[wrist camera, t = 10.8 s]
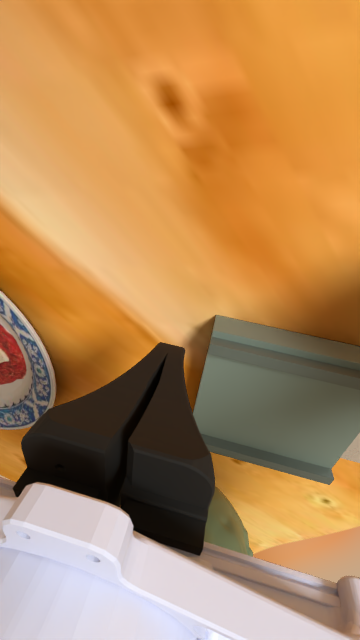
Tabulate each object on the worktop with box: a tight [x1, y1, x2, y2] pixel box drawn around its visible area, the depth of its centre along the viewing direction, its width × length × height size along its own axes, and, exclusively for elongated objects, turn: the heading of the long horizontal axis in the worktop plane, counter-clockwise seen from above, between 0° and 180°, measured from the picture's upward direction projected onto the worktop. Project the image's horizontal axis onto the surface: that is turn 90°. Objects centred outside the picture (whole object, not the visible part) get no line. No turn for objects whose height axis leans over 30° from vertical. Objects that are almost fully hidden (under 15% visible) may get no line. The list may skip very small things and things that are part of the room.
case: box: [193, 315, 360, 485], centre depth 24 cm, size 14×14×4 cm
